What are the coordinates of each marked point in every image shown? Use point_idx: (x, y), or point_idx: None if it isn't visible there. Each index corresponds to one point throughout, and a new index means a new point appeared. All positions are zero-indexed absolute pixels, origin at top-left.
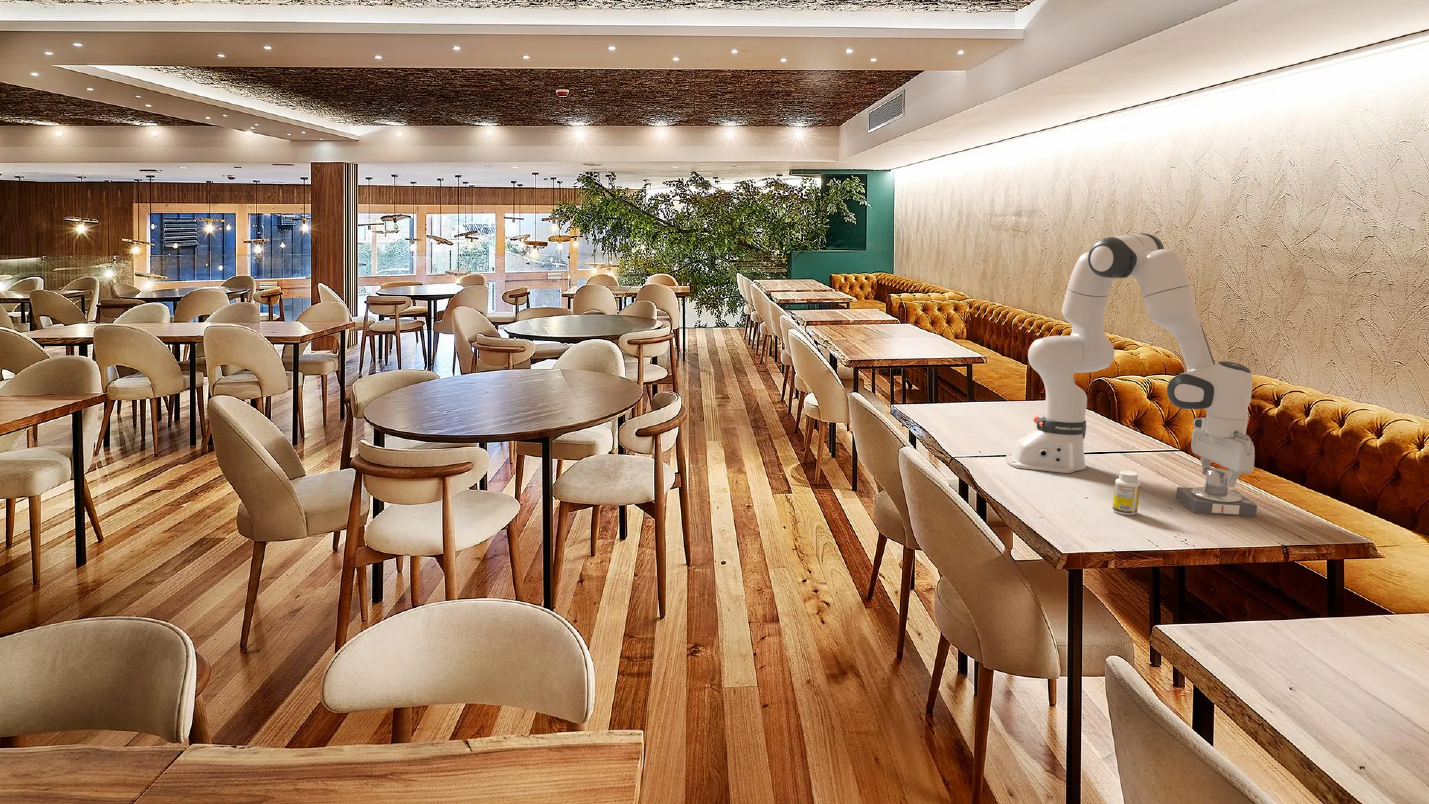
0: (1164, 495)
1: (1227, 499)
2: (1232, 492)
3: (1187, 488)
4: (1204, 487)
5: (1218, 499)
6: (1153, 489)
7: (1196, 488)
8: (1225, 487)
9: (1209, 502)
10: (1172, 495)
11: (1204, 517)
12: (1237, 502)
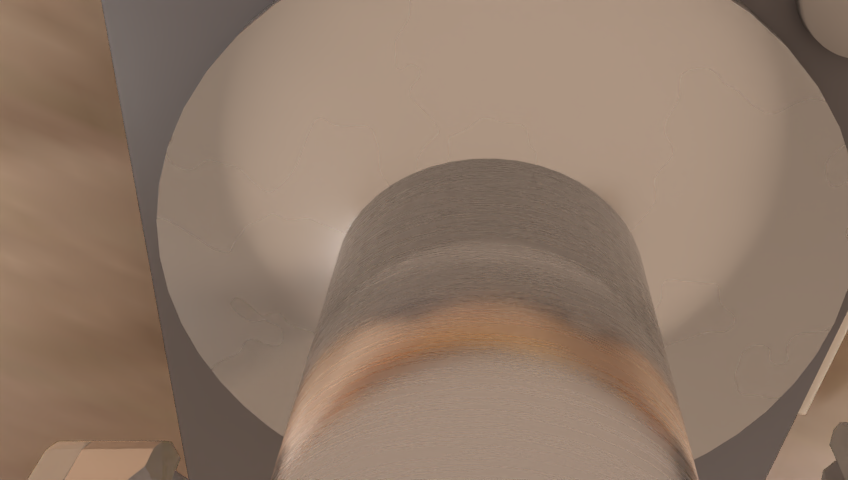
0: (173, 442)
1: (797, 279)
2: (388, 4)
3: (216, 428)
4: (194, 301)
5: (777, 382)
6: (4, 450)
7: (280, 406)
8: (664, 356)
9: (779, 450)
10: (146, 385)
11: (838, 414)
12: (839, 125)
